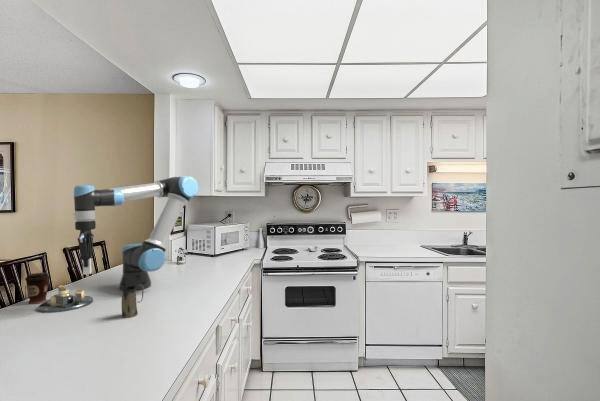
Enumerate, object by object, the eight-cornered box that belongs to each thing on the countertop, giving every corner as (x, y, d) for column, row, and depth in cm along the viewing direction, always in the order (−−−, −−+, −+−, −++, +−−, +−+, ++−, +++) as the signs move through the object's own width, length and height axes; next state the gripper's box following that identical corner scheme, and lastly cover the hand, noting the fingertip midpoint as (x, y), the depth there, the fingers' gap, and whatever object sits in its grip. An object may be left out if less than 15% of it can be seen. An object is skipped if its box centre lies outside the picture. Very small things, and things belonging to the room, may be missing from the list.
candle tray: (98, 296, 158) (98, 285, 158) (84, 309, 139) (84, 297, 139) (50, 300, 152) (50, 289, 152) (28, 314, 133) (28, 302, 133)
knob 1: (69, 299, 149) (69, 287, 149) (60, 301, 146) (59, 289, 146) (65, 295, 155) (65, 284, 154) (56, 297, 152) (55, 286, 152)
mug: (119, 318, 128) (119, 287, 128) (124, 313, 133) (123, 284, 133) (141, 316, 130) (141, 286, 129) (145, 312, 135) (144, 283, 135)
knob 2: (48, 306, 140) (48, 294, 139) (58, 303, 143) (57, 291, 143) (60, 308, 136) (60, 296, 136) (69, 306, 139) (69, 293, 139)
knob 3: (74, 300, 147) (74, 288, 147) (84, 298, 149) (84, 287, 149) (74, 305, 140) (73, 293, 140) (84, 303, 142) (83, 291, 142)
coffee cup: (35, 305, 144) (34, 276, 144) (20, 304, 146) (19, 275, 146) (53, 299, 153) (53, 272, 153) (39, 298, 154) (39, 271, 154)
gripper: (80, 219, 148) (82, 271, 149) (69, 222, 136) (71, 278, 136) (99, 219, 150) (101, 269, 151) (90, 221, 138) (92, 276, 138)
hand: (87, 273), depth 143 cm, fingers closed
